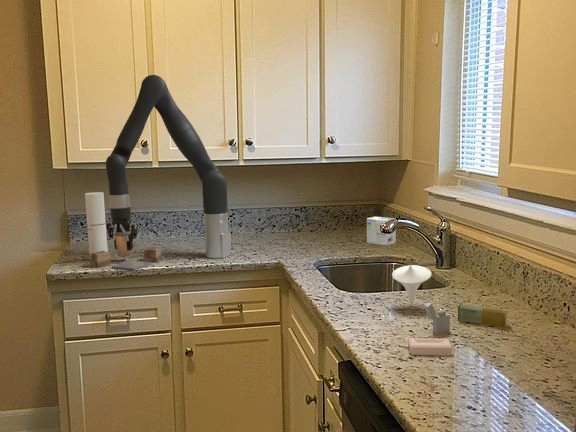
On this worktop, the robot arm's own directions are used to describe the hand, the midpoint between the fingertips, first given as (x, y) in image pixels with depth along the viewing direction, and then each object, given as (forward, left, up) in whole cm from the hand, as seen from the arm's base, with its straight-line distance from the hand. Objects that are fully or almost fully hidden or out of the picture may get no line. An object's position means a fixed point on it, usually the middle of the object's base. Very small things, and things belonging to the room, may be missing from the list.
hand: (123, 249), depth 233 cm
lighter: (-127, +34, -5) cm, 131 cm away
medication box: (-136, +22, -5) cm, 138 cm away
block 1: (+3, +9, -5) cm, 11 cm away
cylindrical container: (+18, -6, -5) cm, 20 cm away
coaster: (-9, +6, -5) cm, 12 cm away
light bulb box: (-83, -65, -5) cm, 105 cm away
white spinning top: (-116, +15, -5) cm, 117 cm away
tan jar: (0, 0, -2) cm, 2 cm away
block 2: (-11, -4, -5) cm, 12 cm away
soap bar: (-128, +46, -5) cm, 136 cm away
